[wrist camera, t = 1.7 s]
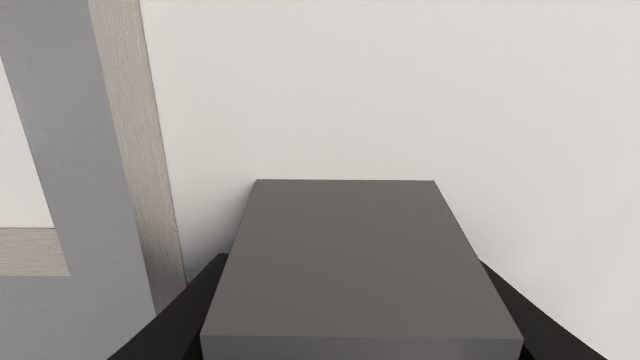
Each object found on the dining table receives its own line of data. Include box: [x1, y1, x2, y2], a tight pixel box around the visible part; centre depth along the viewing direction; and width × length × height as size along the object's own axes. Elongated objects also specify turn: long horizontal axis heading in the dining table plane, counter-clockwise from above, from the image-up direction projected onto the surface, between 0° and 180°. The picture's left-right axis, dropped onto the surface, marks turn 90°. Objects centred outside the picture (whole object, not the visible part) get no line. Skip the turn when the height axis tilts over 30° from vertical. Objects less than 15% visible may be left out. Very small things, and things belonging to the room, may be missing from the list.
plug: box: [200, 179, 524, 360], centre depth 9 cm, size 4×4×6 cm
